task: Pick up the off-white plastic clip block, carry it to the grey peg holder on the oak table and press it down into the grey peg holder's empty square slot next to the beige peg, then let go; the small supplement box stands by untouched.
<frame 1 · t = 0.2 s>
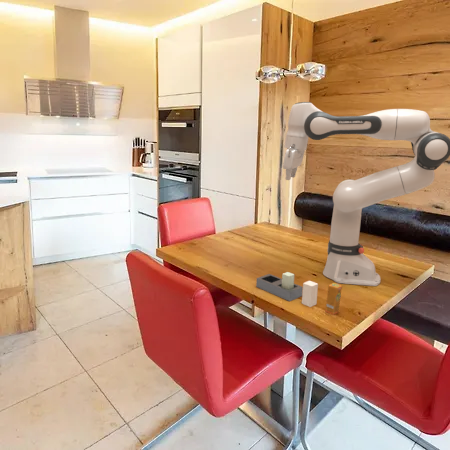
hand: (290, 178, 155), 39 cm above the table, tool pointing down, fingers open, 8 cm apart
clip block: (308, 305, 130), on the table
grey peg holder: (278, 292, 139), on the table
beige peg: (287, 294, 136), resting on grey peg holder
supplement box: (332, 313, 125), on the table
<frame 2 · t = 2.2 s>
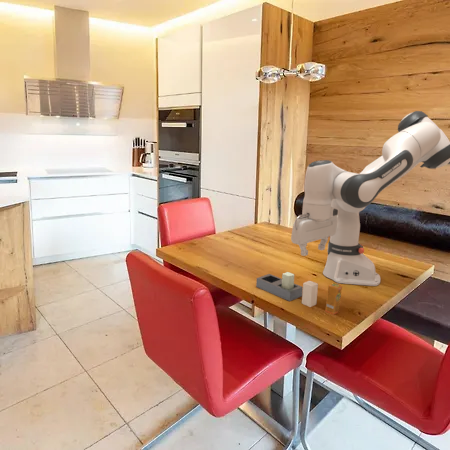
hand: (313, 252, 125), 19 cm above the table, tool pointing down, fingers open, 8 cm apart
nothing on the table moved.
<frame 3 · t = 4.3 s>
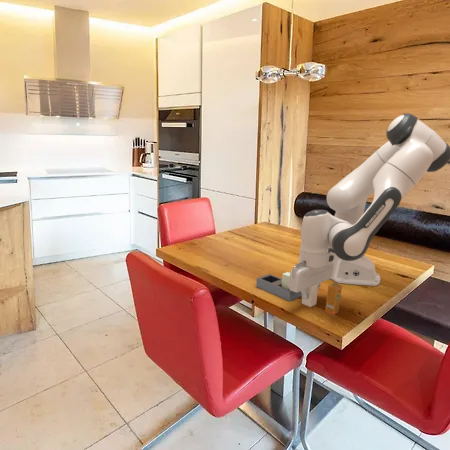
hand: (309, 296, 129), 3 cm above the table, tool pointing down, fingers closed on clip block, 3 cm apart
clip block: (308, 305, 130), on the table, touching gripper
everything else where it was.
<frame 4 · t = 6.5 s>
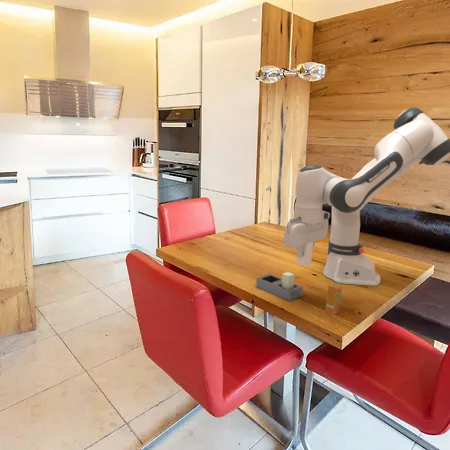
hand: (304, 255, 128), 17 cm above the table, tool pointing down, fingers closed on clip block, 3 cm apart
clip block: (303, 263, 129), point 14 cm above the table, touching gripper
everything else where it was.
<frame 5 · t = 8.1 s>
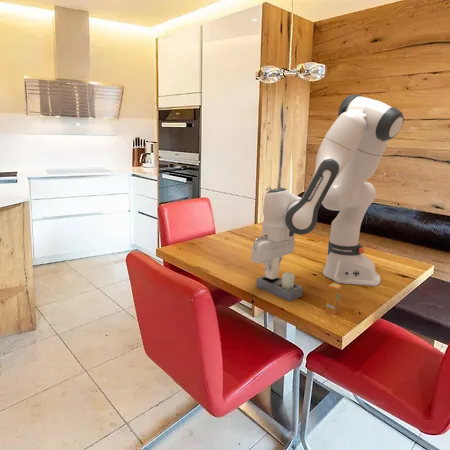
hand: (272, 269, 140), 8 cm above the table, tool pointing down, fingers closed on clip block, 3 cm apart
clip block: (271, 276, 141), point 5 cm above the table, touching gripper
everything else where it was.
when the fingers open (5 cm above the table, at t = 9.0 s): clip block drops 1 cm, resting on grey peg holder.
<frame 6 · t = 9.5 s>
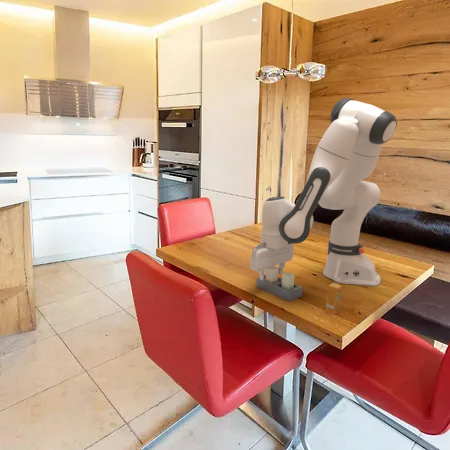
hand: (271, 276, 141), 5 cm above the table, tool pointing down, fingers open, 8 cm apart
clip block: (270, 287, 142), resting on grey peg holder
everything else where it was.
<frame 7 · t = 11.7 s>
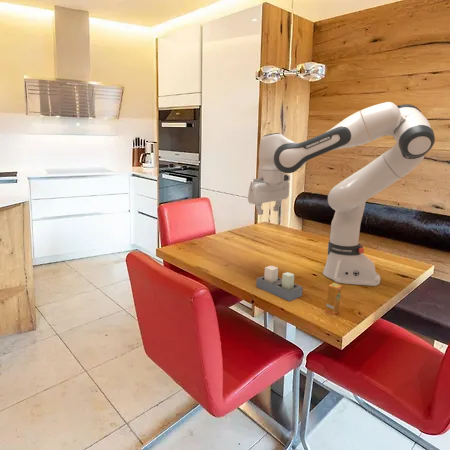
hand: (268, 212, 147), 27 cm above the table, tool pointing down, fingers open, 8 cm apart
nothing on the table moved.
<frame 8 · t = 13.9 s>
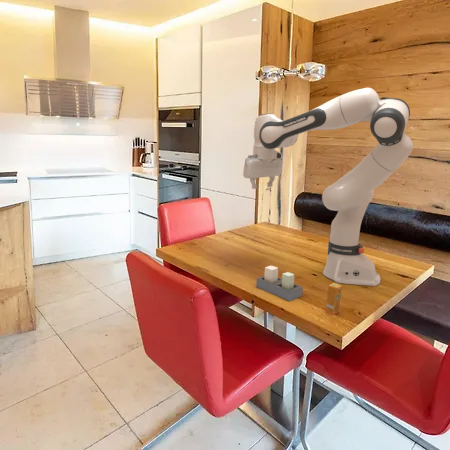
hand: (262, 187, 161), 34 cm above the table, tool pointing down, fingers open, 8 cm apart
nothing on the table moved.
at the end: clip block 0.0 cm from the target spot, point 0.5 cm above the table; clip block tilted 0°; the gripper is holding nothing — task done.
